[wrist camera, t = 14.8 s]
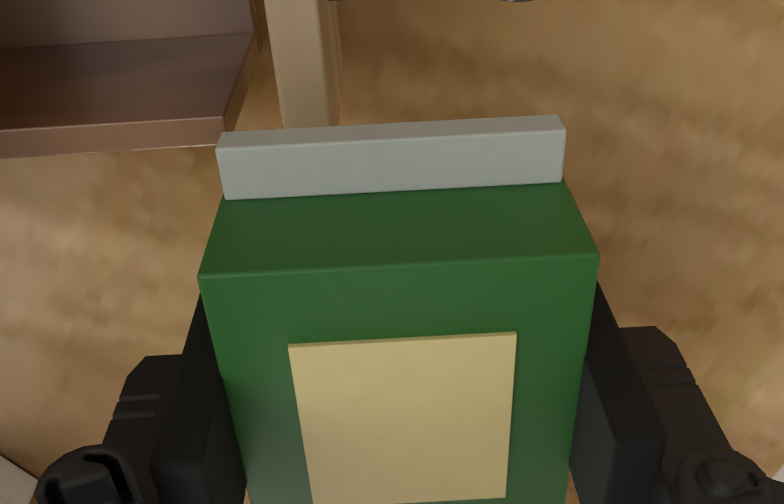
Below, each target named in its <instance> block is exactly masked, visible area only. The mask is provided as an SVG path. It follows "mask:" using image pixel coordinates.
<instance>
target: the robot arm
mask: <svg viewBox="0 0 784 504" xmlns="http://www.w3.org/2000/svg"><path fill="white" fill-rule="evenodd" d="M686 365H687V364H686V362H685V360H684V358H683V356H682V355H681V353H680V351H679V349H678V347H677V345H676V343H674V342H673V341H672V340H671V339H670V338H668V337H667V336H666V335H665V334H664V333H663V332H661V331H660V330H659V329H658V328H657V327H656V326H646V327H628V328H619V327H618V325H617V323H616V320H615V318H614V316H613V314H612V311H611V309H610V307H609V305H608V303H607V300H606V298H605V296H604V294H603V292H602V289H601V287H600V285H599V283H598V280H597V282H596V289H595V296H594V303H593V310H592V317H591V324H590V331H589V338H588V345H587V352H586V355H585V356H584V363H583V370H582V377H581V384H580V391H579V398H578V405H577V412H576V419H575V426H574V433H573V440H572V448H571V455H570V462H569V467H570V471H571V474H572V478H573V481H574V484H575V488H576V491H577V495H578V498H579V501H580V504H784V483H783V482H780V481H776V480H773V479H771V478H769V477H767V476H766V474H765V473H764V472H763V471H762V470H761V469H760V468H759V467H758V466H757V465H756V464H755V462H754V461H752V460H750V459H749V458H747V457H746V456H744V455H742V454H741V453H739V452H737V451H734V450H733V449H732V447H731V446H730V444H729V442H728V440H727V439H726V437H725V435H724V433H723V431H722V429H721V427H720V426H719V424H718V422H717V420H716V418H715V416H714V414H713V412H712V411H711V409H710V407H709V405H708V403H707V401H706V399H705V398H704V396H703V394H702V392H701V390H700V388H699V386H698V385H696V383H695V379H694V377H693V375H692V373H691V371H690V370H689V368H687V366H686ZM246 484H247V483H246V479H245V475H244V471H243V466H242V462H241V458H240V454H239V450H238V445H237V441H236V437H235V433H234V428H233V424H232V420H231V416H230V412H229V407H228V403H227V399H226V395H225V391H224V386H223V382H222V378H221V375H220V372H219V368H218V364H217V359H216V355H215V351H214V347H213V343H212V338H211V334H210V330H209V326H208V321H207V317H206V313H205V309H204V305H203V300H202V296H201V292H200V295H199V299H198V302H197V306H196V309H195V312H194V316H193V319H192V322H191V326H190V329H189V332H188V336H187V339H186V342H185V346H184V349H183V352H182V354H177V355H159V356H145V357H144V359H143V360H142V361H141V362H140V363H139V364H138V365H137V366H136V367H135V368H134V369H133V370H132V372H131V373H130V374H129V375H128V376H127V378H126V381H125V384H124V386H123V389H122V392H121V394H120V397H119V402H117V405H116V408H115V410H114V413H113V420H111V421H110V424H109V426H108V429H107V432H106V434H105V437H104V440H103V442H102V444H98V445H91V446H83V447H81V448H78V449H76V450H73V451H71V452H69V453H66V454H64V455H63V456H62V457H60V458H59V459H57V460H56V461H55V462H53V463H52V464H51V465H49V467H48V468H47V469H46V470H45V472H44V473H43V474H42V475H41V477H40V478H39V479H38V482H37V485H36V489H35V492H34V496H35V498H36V500H37V502H38V504H243V503H244V497H245V490H246Z"/></svg>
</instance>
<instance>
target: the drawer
mask: <svg viewBox="0 0 784 504" xmlns="http://www.w3.org/2000/svg"><path fill="white" fill-rule="evenodd" d="M337 1H339V0H264V6H265V13H266V20H267V26H268V33H269V40H270V47H271V53H272V60H273V67H274V73H275V80H276V87H277V94H278V100H279V107H280V114H281V120H282V127H283V129H289V128H308V127H326V126H339V112H340V96H341V80H342V65H343V60H342V49H341V38H340V28H339V17H338V6H337ZM502 1H509V2H525V1H532V0H502ZM261 49H262V44H261V37H260V31H259V24H258V18H257V12H256V5H255V0H0V159H4V158H20V157H35V156H51V155H67V154H83V153H99V152H114V151H130V150H146V149H162V148H178V147H193V146H209V145H217V144H218V141H219V138H220V136H221V133H223V132H233V131H234V128H235V125H236V122H237V120H238V117H239V114H240V111H241V108H242V105H243V102H244V99H245V96H246V93H247V90H248V87H249V85H250V82H251V79H252V76H253V73H254V70H255V67H256V64H257V61H258V58H259V55H260V52H261Z"/></svg>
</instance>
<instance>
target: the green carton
mask: <svg viewBox="0 0 784 504" xmlns="http://www.w3.org/2000/svg"><path fill="white" fill-rule="evenodd" d="M566 133H567V131H566V129H565V127H564V125H563V123H562V122H561V120H560V118H559V116H558V115H556V114H551V115H532V116H513V117H495V118H476V119H457V120H439V121H420V122H401V123H383V124H364V125H345V126H326V127H308V128H289V129H270V130H252V131H233V132H223V133H221V136H220V138H219V141H218V144H217V146H216V149H215V152H216V157H217V162H218V167H219V173H220V178H221V183H222V188H223V196H222V199H221V202H220V205H219V208H218V212H217V215H216V218H215V221H214V224H213V228H212V231H211V234H210V237H209V240H208V243H207V247H206V250H205V253H204V256H203V259H202V262H201V266H200V269H199V272H198V275H197V279H198V284H199V288H200V292H201V296H202V300H203V305H204V309H205V313H206V317H207V321H208V326H209V330H210V334H211V338H212V343H213V347H214V351H215V355H216V359H217V364H218V368H219V372H220V375H221V378H222V382H223V386H224V391H225V395H226V399H227V403H228V407H229V412H230V416H231V420H232V424H233V428H234V433H235V437H236V441H237V445H238V450H239V454H240V458H241V462H242V466H243V471H244V475H245V479H246V483H247V484H246V486H247V490H248V494H249V498H250V502H251V504H565V498H566V491H567V484H568V477H569V470H570V467H569V462H570V455H571V448H572V440H573V433H574V426H575V419H576V412H577V405H578V398H579V391H580V384H581V377H582V370H583V363H584V356H585V355H586V352H587V345H588V338H589V331H590V324H591V317H592V310H593V303H594V296H595V289H596V282H597V275H598V268H599V261H600V253H599V251H598V249H597V247H596V244H595V242H594V240H593V238H592V236H591V234H590V232H589V230H588V228H587V226H586V224H585V222H584V219H583V217H582V215H581V213H580V211H579V209H578V207H577V205H576V203H575V201H574V199H573V197H572V194H571V192H570V190H569V188H568V186H567V184H566V182H565V180H564V178H563V176H562V173H563V163H564V153H565V143H566Z"/></svg>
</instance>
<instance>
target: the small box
mask: <svg viewBox="0 0 784 504" xmlns="http://www.w3.org/2000/svg"><path fill="white" fill-rule="evenodd" d="M37 482H38V481H37V479H36V478H34V477H33V476H31V475H29V474H28V473H26V472H25V471H23V470H22V469H20V468H19V467H17V466H16V465H14V464H13V463H11V462H9V461H8V460H6V459H5V458H3V457H2V456H0V504H29V502H30V500H31V498H32V495H33V493H34V491H35V488H36V485H37Z"/></svg>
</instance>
